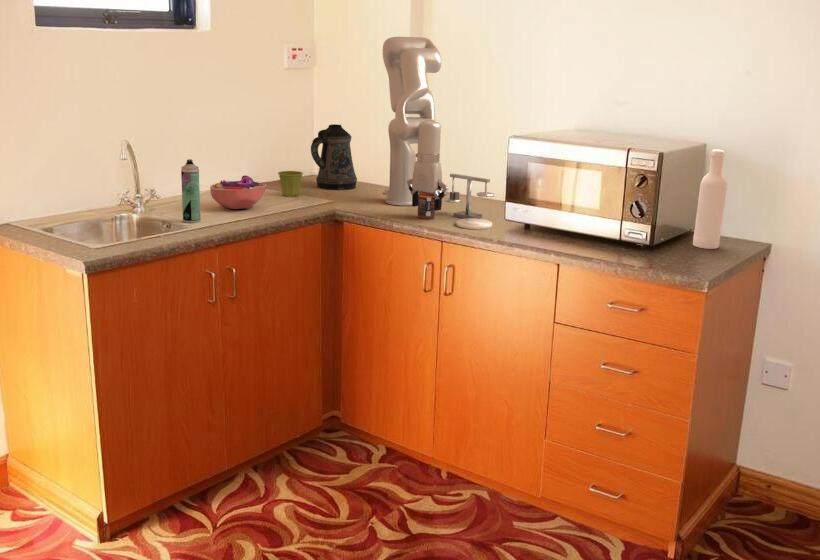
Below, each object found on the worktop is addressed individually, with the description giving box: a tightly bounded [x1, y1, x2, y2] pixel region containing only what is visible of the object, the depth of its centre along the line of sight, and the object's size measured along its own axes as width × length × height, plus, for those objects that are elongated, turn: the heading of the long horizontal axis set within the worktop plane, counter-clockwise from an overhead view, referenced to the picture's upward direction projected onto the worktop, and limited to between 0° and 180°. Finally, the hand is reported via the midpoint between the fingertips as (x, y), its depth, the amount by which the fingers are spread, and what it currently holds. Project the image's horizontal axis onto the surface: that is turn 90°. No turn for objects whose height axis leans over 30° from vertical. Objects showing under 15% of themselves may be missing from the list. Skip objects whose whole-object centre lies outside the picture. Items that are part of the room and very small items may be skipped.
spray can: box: [180, 158, 201, 224], centre depth 277 cm, size 6×6×20 cm
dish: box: [455, 218, 493, 231], centre depth 288 cm, size 12×12×1 cm
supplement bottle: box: [417, 192, 436, 220], centre depth 297 cm, size 6×6×11 cm
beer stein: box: [310, 123, 358, 191], centre depth 347 cm, size 16×19×25 cm
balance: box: [443, 173, 495, 219], centre depth 300 cm, size 20×6×14 cm, turn 50°
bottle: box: [692, 149, 728, 250], centre depth 266 cm, size 8×8×30 cm
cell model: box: [209, 175, 267, 210], centre depth 301 cm, size 17×20×11 cm
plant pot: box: [277, 170, 304, 198], centre depth 329 cm, size 9×9×9 cm
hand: (426, 208), depth 297 cm, fingers open, 9 cm apart
